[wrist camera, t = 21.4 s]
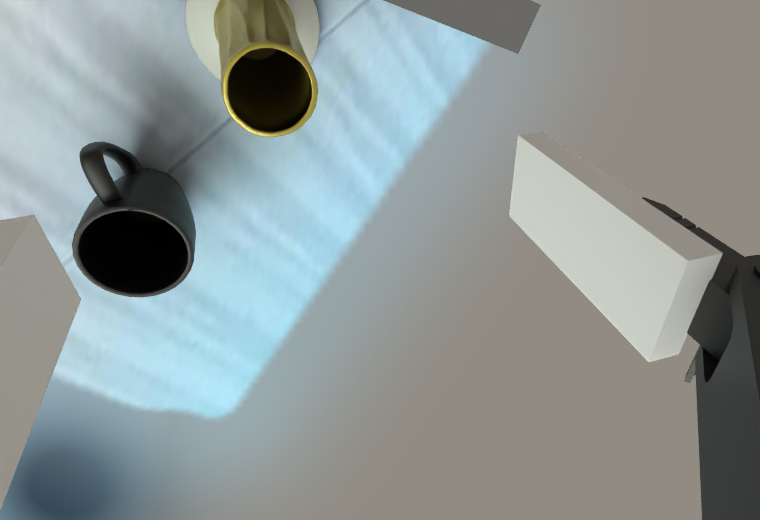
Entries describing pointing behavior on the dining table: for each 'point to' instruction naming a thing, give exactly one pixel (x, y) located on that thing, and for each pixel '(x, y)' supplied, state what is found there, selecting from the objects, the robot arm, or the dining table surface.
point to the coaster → (206, 44)
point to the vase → (263, 67)
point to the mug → (133, 227)
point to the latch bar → (480, 18)
